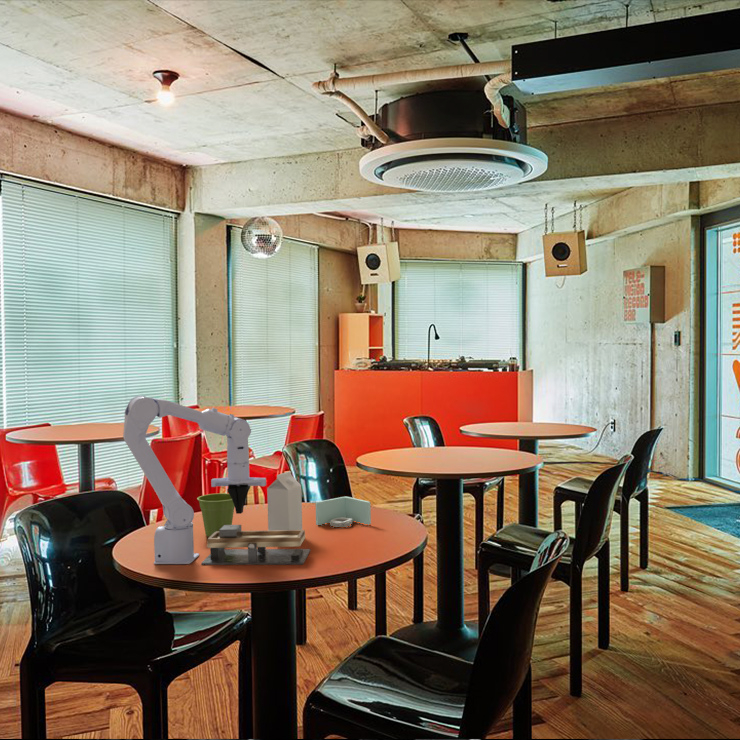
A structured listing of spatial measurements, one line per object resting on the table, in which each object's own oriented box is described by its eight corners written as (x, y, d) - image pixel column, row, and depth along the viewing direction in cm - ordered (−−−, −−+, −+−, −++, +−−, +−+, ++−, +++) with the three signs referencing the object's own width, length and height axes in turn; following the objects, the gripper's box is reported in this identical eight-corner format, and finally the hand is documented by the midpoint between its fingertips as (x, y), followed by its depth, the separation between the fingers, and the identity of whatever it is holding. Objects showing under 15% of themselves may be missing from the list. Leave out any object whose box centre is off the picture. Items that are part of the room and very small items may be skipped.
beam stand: (200, 565, 173) (200, 544, 173) (215, 550, 185) (214, 531, 185) (302, 565, 171) (302, 543, 171) (310, 550, 184) (310, 530, 183)
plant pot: (231, 540, 196) (230, 501, 195) (191, 540, 197) (190, 501, 197) (244, 529, 207) (243, 492, 207) (206, 529, 209) (205, 492, 209)
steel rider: (219, 541, 176) (219, 529, 176) (225, 536, 181) (224, 524, 181) (236, 541, 176) (236, 529, 176) (241, 535, 181) (241, 524, 181)
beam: (207, 547, 175) (206, 539, 175) (216, 539, 183) (215, 531, 183) (300, 546, 173) (299, 537, 173) (305, 537, 181) (304, 529, 181)
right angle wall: (316, 526, 211) (315, 502, 210) (346, 519, 218) (345, 496, 218) (340, 533, 201) (339, 508, 201) (370, 526, 209) (370, 501, 209)
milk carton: (268, 540, 194) (266, 474, 194) (281, 534, 201) (280, 470, 200) (289, 543, 191) (287, 475, 191) (302, 537, 198) (301, 471, 197)
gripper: (207, 465, 181) (208, 516, 181) (261, 464, 180) (262, 516, 180) (215, 461, 188) (216, 510, 188) (267, 460, 187) (268, 509, 187)
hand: (239, 512), depth 184 cm, fingers closed
